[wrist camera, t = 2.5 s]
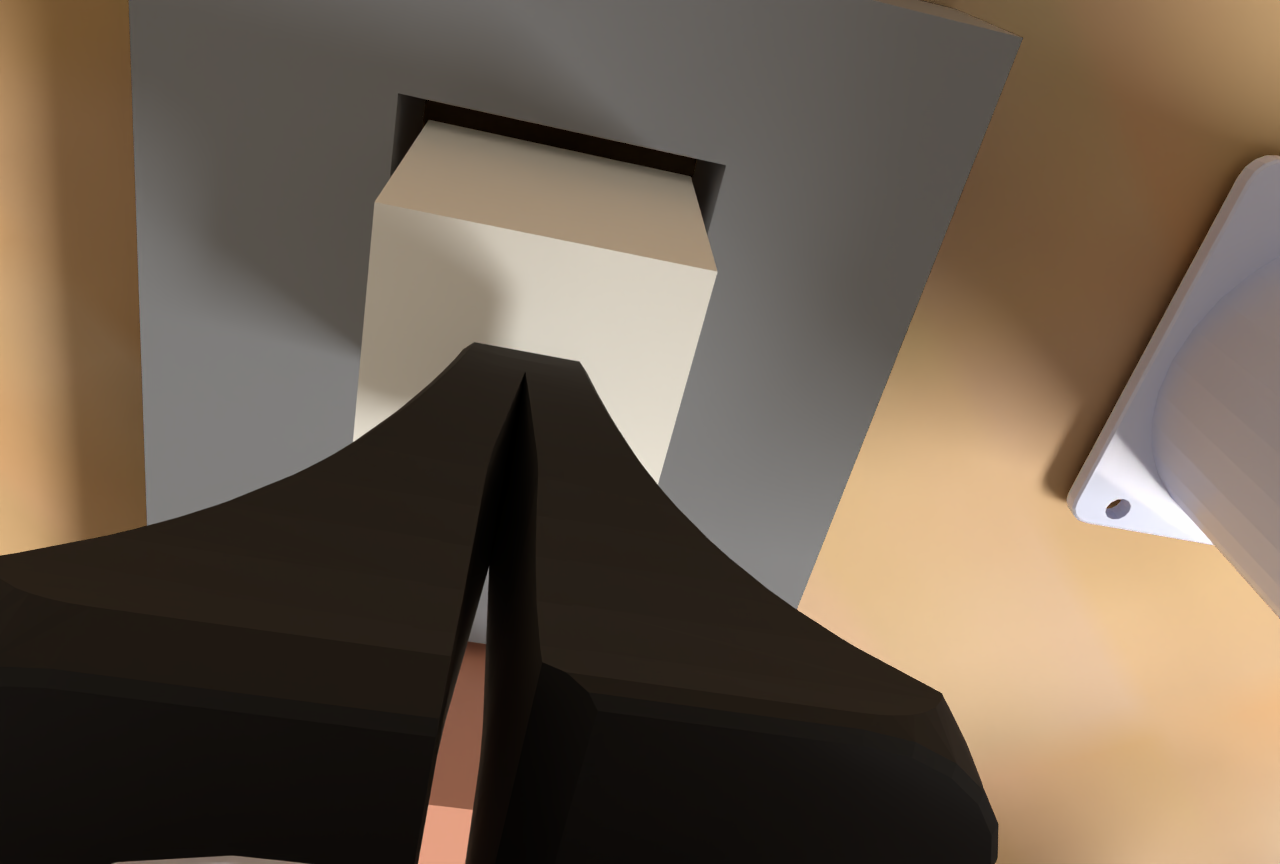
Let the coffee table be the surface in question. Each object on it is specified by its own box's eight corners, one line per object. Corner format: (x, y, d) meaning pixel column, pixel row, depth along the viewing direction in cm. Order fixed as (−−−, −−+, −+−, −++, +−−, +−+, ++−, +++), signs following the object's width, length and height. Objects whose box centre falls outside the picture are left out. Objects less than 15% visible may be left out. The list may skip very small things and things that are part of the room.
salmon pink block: (570, 653, 20) (563, 820, 16) (537, 784, 22) (524, 958, 18) (371, 625, 19) (321, 792, 16) (355, 762, 21) (308, 936, 18)
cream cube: (690, 176, 15) (717, 272, 11) (634, 400, 17) (642, 539, 13) (428, 119, 14) (375, 202, 11) (401, 358, 16) (348, 491, 13)
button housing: (955, 9, 16) (1022, 37, 14) (671, 800, 26) (679, 904, 23) (208, -180, 14) (122, -188, 12) (205, 743, 24) (158, 848, 22)
